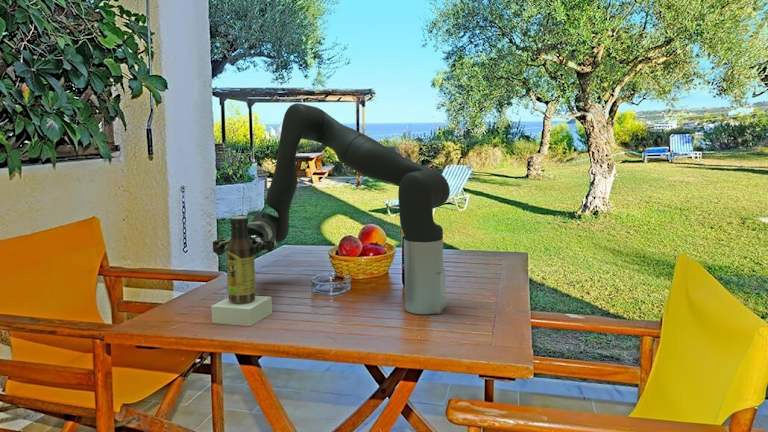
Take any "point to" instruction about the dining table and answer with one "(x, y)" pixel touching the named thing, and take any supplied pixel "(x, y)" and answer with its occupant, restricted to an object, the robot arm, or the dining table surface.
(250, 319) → the plinth
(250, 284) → the sauce bottle
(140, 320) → the dining table surface
